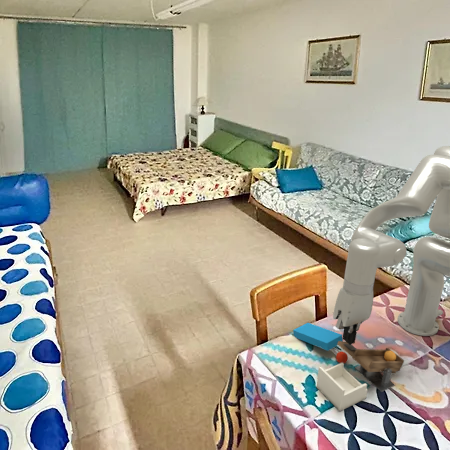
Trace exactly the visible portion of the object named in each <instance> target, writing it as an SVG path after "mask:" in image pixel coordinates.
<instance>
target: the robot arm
mask: <svg viewBox="0 0 450 450" xmlns="http://www.w3.org/2000/svg"><path fill="white" fill-rule="evenodd" d="M434 202H435V203H434ZM433 203H434V205H433ZM432 205H433V209H432V211H431V215H430V218H429V222H428V228H429V230H430V231H431V232H432V233H434V234H436V235H439V236H440V237H443V238H445V239H448V240H450V145H443V146H440V147H437V148H436V150H435V151H434V152H433V154H429V155H425V156H424V157H423V158H422V159H421V160H420V161H419V163H418V164H417V165H416V167H415V169H414V170H413V172H412V173H411V175H410V176H409V177H408V179H407V181H406V182H405V184H404V185H403V186H402V188H401V190H399V193H398V194H397V195H396V196H395V197H393V198H391V199H388V200H387V201H383V202H381V203H380V204H378V205H377V206H375V207H373V208H372V209H371V210H369V211H368V212H367V213H365V215H364V216H363V218H362V219H361V221H360V222H359V223H358V225H357V227H356V228H355V230H354V232H353V233H352V236H351V239H350V243H349V245H348V250H347V251H348V253H347V259H346V265H345V271H344V275H343V276H344V277H343V284H342V285H343V286H342V287H340V289H339V291H338V294H337V297H336V301H335V303H334V308H333V315H332V317H333V320H337V321H336V323H335V327H336V328H337V329H338V330H339V331H340V330H343V333H342V338H343V341H346V342H347V343H348V344H349V345H351V344H352V345H353V344H356V339H357V333H358V331H359V330H360V327H361V325H362V323H364V322H366V320H369V319H370V318H371V315H372V310H373V303H374V285H375V279H376V274H377V270H378V269H379V268H387V267H394V266H396V265H398V264H400V263H401V262H402V261H403V260H404V259H405V258H406V255H407V246H406V245H405V243H404V242H403V241H401V240H400V239H398V238H396V237H393V236H390V235H388V234H386V233H383V232H381V231H378V230H377V229H378V228H379V227H380V226H381V225H383V224H384V223H385V222H387V221H390V220H393V219H400V218H408V217H417V216H418V217H419V216H422V215H423V216H424V215H425V214H427V212H428V210H429V209H430V207H431V206H432ZM415 243H416V244H415V246H414V249H413V252H412V253H413V254H412V255H413V266H412V267H413V268H412V274H411V279H410V283H409V288H408V292H407V298H406V302H405V307H404V311H402V312H400V313H399V314H398V317H397V323H398V325H399V326H400V327H401V328H403V330H405V331H407V332H409V333H410V334H413V335H417V336H422V337H429V336H433V335H436V334H437V333H438V331H439V328H440V325H439V323H438V322H437V321H436V320H437V318H438V317H439V316H442V315H443V314H444V311H443V310H442V309H440V307H439V306H440V303H441V298H442V294H443V291H444V287H445V277H444V276H446V277H448V278H450V242H447V241H445V240H442V239H440V238H436V237H433V236H432V237H431V236H426V237H425V236H424V237H422V238H420V239H419V240H418V241H416V242H415Z"/></svg>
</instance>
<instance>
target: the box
mask: <svg viewBox="0 0 450 450" xmlns="http://www.w3.org/2000/svg"><path fill="white" fill-rule="evenodd" d="M344 365H345V363H338V364H336V365H333V366H331V367H328V368H326V369H324V368H323V367H322V366H319V367H318V371H317V380H316V388H317V389H318V391H320V393H322V394H323V396H325V398H326V399H327V400H328V401H329V402H330V403H331V404H333V406H334V407H335V408H336V409H337V410H338V411H339V412H341V411H344V410H345V409H347V408H350V407H351V406H354V405H355V404H357V403H360V402H362V401H363V400H365V399H367V396H368V389H369V388H367V387H368V384H367V383H361V382H360V381H359V380H357V379H356V377H354V376H353V375H352V374H351V373H350V372H349V371H347V369H346V368H345V367H344Z"/></svg>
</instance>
